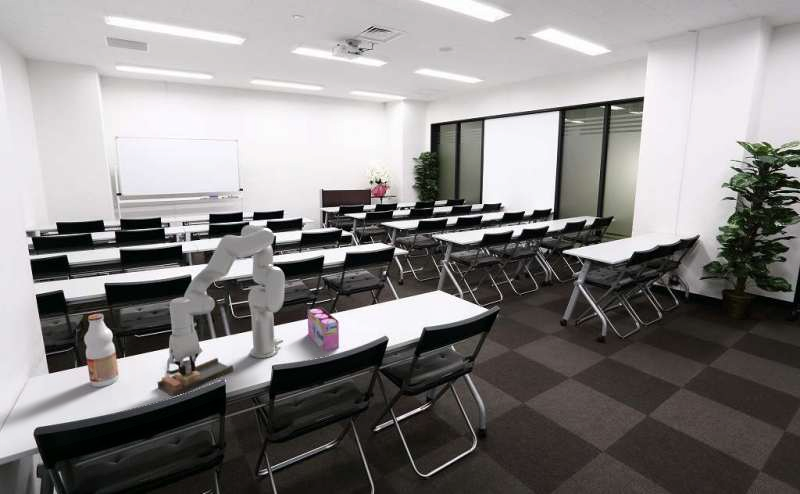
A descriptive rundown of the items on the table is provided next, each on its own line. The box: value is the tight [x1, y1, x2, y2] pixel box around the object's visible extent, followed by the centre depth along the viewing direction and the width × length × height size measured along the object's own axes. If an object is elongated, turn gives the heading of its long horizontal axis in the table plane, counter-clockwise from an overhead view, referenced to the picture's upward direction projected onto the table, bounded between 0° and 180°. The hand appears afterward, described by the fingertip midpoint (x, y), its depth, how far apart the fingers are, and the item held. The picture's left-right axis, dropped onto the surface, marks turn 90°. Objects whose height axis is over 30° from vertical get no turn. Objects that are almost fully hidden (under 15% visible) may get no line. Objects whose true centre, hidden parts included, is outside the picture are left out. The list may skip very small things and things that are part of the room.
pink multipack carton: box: [307, 306, 340, 352], centre depth 206 cm, size 24×8×14 cm, turn 32°
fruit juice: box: [83, 313, 120, 388], centre depth 164 cm, size 9×9×28 cm
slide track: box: [157, 357, 234, 398], centre depth 169 cm, size 25×12×4 cm, turn 145°
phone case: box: [167, 356, 190, 375], centre depth 182 cm, size 9×2×16 cm
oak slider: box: [174, 360, 201, 386], centre depth 165 cm, size 6×8×8 cm
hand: (187, 372), depth 166 cm, fingers closed on oak slider, 3 cm apart
